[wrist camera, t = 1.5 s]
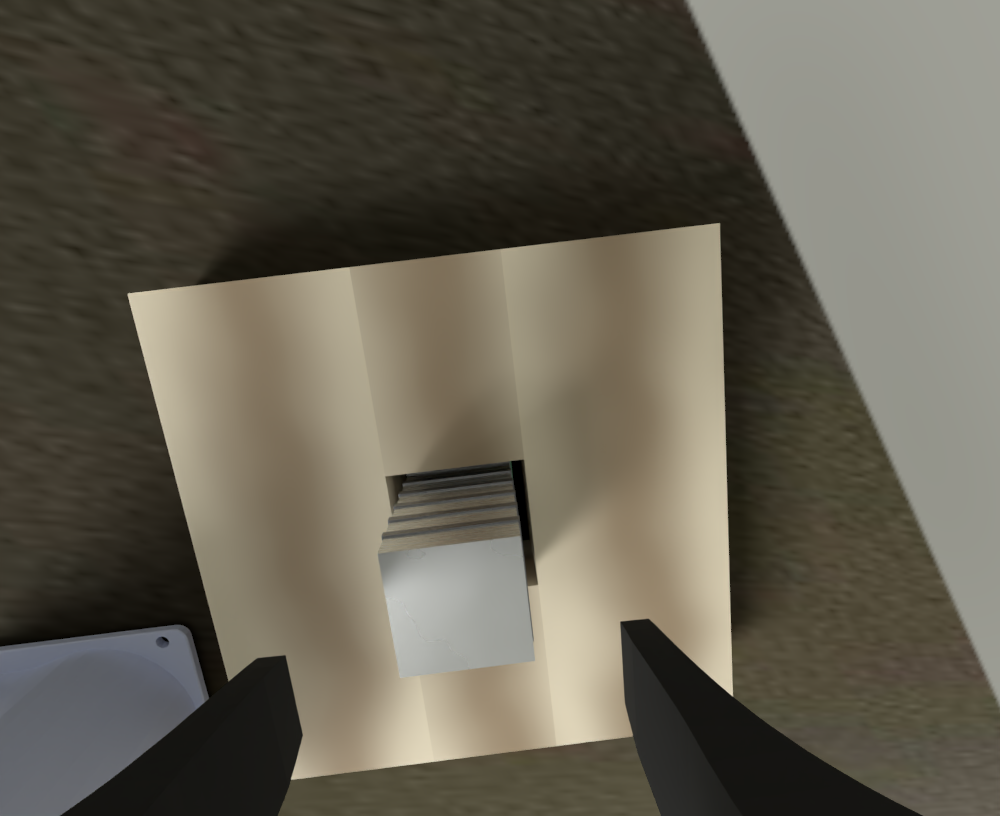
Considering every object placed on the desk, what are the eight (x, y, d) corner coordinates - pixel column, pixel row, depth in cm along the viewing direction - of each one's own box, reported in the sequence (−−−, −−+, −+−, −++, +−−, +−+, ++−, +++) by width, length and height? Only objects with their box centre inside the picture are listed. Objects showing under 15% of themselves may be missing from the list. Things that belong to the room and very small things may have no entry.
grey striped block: (425, 546, 22) (396, 682, 14) (411, 457, 21) (372, 550, 14) (519, 535, 22) (539, 663, 14) (508, 445, 21) (524, 531, 14)
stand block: (288, 712, 24) (246, 804, 19) (188, 292, 20) (109, 293, 16) (697, 661, 24) (743, 741, 20) (678, 234, 20) (731, 219, 16)
